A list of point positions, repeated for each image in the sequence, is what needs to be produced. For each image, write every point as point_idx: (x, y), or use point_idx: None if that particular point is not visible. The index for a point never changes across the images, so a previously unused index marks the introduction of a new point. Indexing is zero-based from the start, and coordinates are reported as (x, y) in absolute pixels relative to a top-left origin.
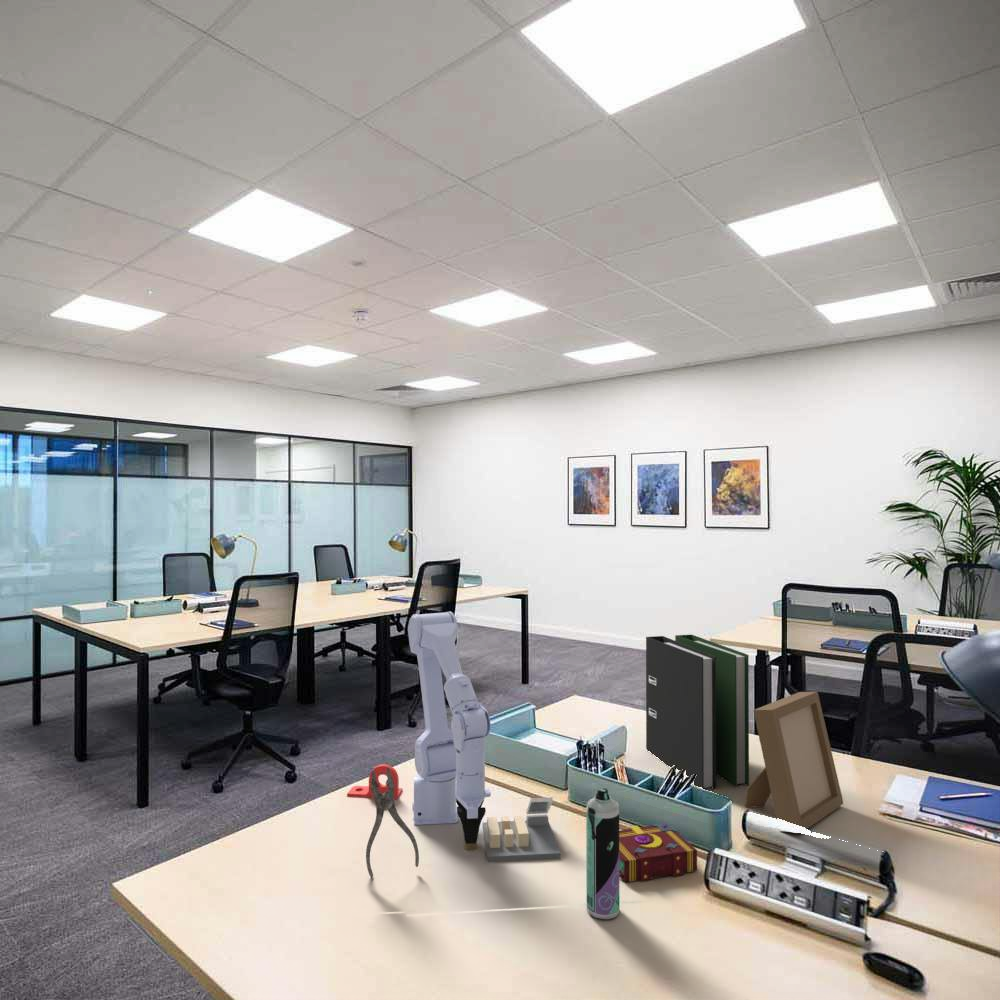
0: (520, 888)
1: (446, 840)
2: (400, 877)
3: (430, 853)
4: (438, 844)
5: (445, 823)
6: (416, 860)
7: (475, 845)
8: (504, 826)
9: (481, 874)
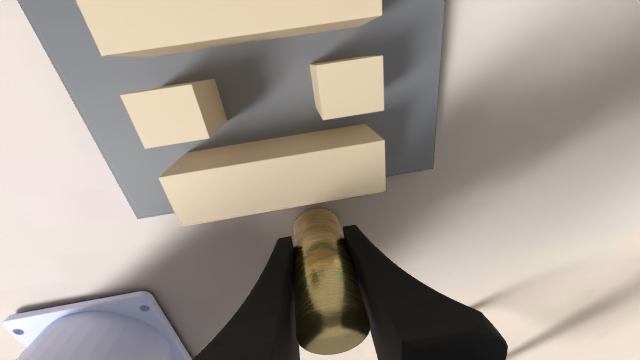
0: (632, 21)
1: None
2: None
3: None
4: None
5: (167, 320)
6: None
7: (331, 218)
8: (214, 117)
9: (494, 173)
